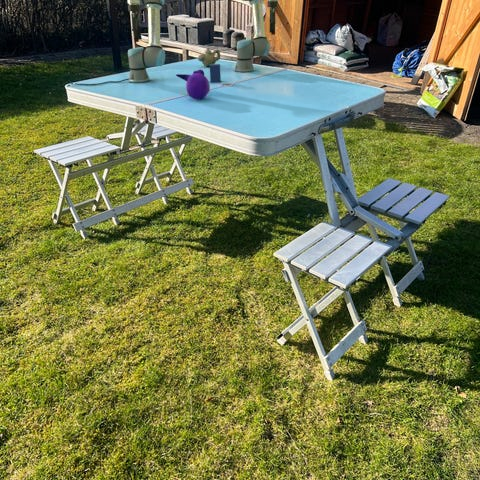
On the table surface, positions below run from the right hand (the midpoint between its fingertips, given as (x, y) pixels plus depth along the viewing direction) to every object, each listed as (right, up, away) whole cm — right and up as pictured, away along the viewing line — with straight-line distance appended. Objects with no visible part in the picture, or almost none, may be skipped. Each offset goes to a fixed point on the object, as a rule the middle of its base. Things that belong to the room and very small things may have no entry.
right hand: (272, 33), depth 329 cm
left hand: (-90, -21, -35) cm, 99 cm away
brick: (-42, -34, +4) cm, 54 cm away
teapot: (-50, 0, +61) cm, 79 cm away
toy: (-53, -59, -39) cm, 88 cm away
